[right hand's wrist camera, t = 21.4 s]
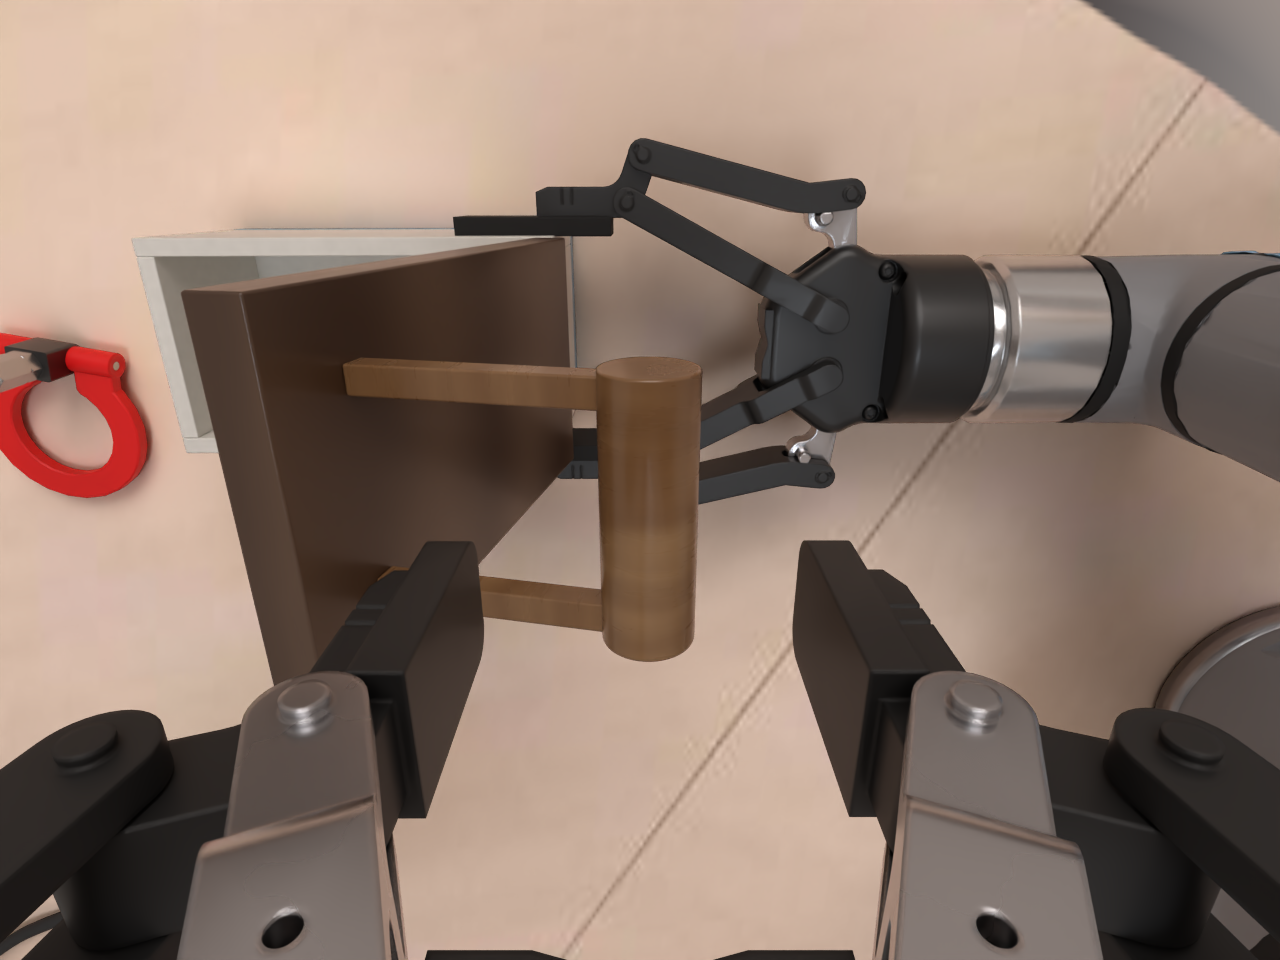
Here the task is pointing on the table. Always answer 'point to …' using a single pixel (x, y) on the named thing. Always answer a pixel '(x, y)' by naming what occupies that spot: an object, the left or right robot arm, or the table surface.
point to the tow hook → (19, 363)
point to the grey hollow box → (263, 255)
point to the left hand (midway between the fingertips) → (472, 341)
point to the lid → (440, 441)
